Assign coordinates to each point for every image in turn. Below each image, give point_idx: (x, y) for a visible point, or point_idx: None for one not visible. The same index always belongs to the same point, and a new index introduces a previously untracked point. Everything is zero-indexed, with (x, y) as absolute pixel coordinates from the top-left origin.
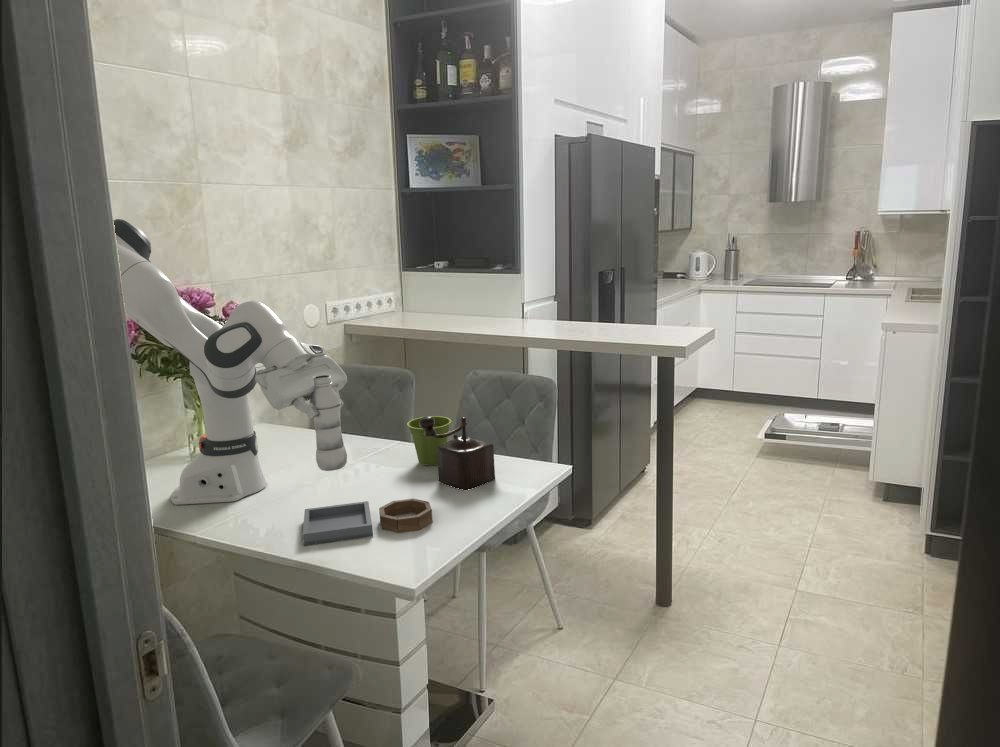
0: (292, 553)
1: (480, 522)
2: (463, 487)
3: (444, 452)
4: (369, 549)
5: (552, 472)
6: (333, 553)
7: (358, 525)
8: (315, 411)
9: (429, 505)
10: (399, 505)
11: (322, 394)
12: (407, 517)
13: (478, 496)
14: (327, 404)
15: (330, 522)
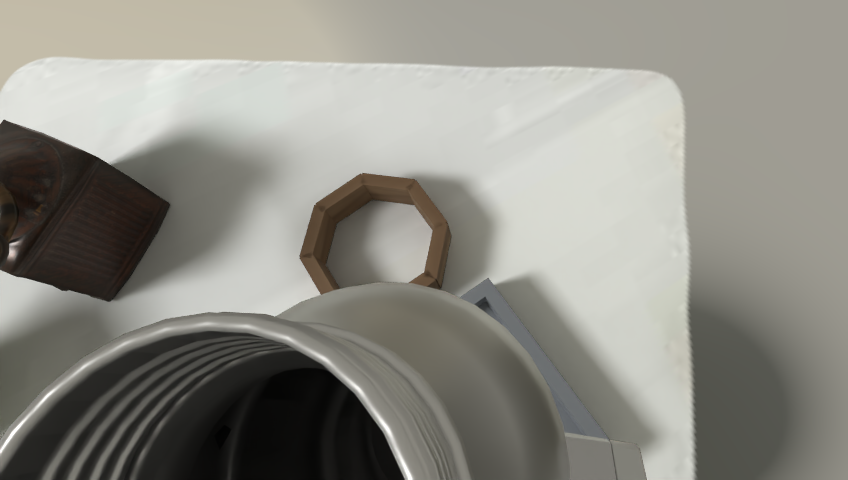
0: (665, 455)
1: (349, 93)
2: (162, 207)
3: (48, 240)
4: (559, 253)
5: (53, 73)
6: (616, 332)
7: (502, 314)
8: (601, 449)
9: (338, 190)
10: (333, 284)
11: (490, 403)
12: (426, 204)
13: (203, 161)
14: (507, 332)
15: None
